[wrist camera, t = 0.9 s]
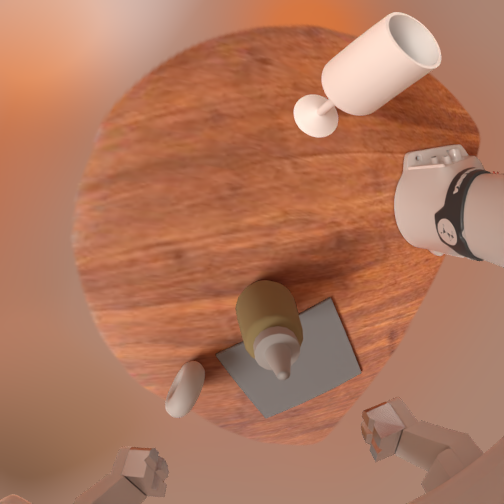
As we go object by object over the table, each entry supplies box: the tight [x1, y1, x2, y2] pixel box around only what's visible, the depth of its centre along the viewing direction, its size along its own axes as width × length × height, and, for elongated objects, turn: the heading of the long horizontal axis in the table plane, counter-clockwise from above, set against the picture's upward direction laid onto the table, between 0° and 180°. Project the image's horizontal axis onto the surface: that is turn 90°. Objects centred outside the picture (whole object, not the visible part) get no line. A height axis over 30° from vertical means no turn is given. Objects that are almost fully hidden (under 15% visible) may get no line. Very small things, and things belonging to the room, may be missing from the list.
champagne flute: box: [294, 12, 441, 137], centre depth 22 cm, size 7×7×24 cm
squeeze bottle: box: [236, 280, 303, 380], centre depth 31 cm, size 8×8×18 cm
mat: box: [216, 297, 361, 418], centre depth 42 cm, size 20×18×1 cm
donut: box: [165, 361, 205, 418], centre depth 37 cm, size 10×4×10 cm, turn 148°
